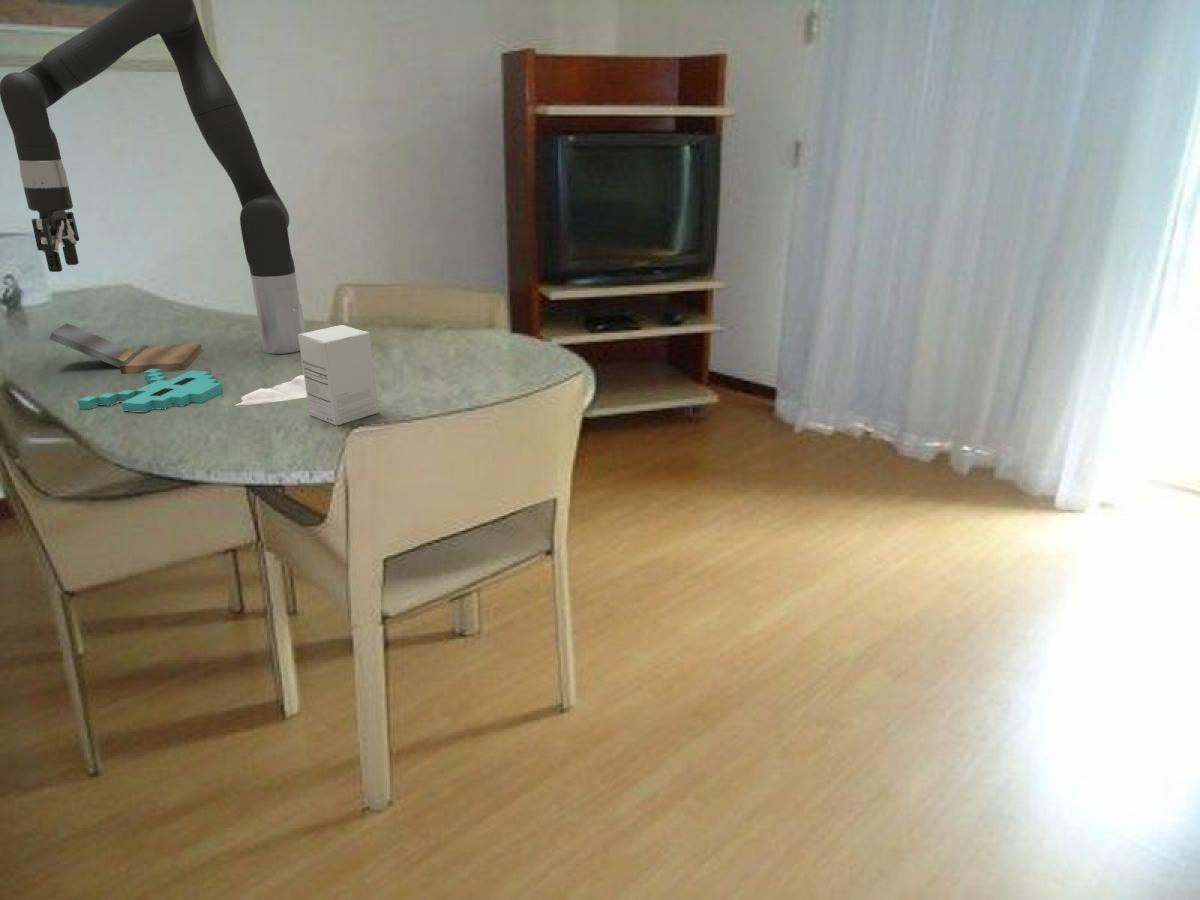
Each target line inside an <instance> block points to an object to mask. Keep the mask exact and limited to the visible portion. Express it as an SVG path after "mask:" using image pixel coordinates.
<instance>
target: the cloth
mask: <svg viewBox="0 0 1200 900" xmlns="http://www.w3.org/2000/svg"><path fill="white" fill-rule="evenodd" d="M305 398H307V392H306V386H305V379H304V374H300V375H296V377H294V378H293V379H292V380H291V381H287V382H282V383H280V384H278V385H273V387H269V388H261V387H260V388H258V389H256V390H253V391H252V392H249V393H247V394H245V395H243V396H241V398H240V399H241V400H242V401H241V402H239V403H236V404H234V405H233V407H240V406H250V405H251V406H252V405H259V404H260V405H261V404H267V403H268V404H269V403H275V402H284V401H285V402H287V401H291V400H297V399H305Z"/></svg>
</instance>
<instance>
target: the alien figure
mask: <svg viewBox="0 0 1200 900" xmlns="http://www.w3.org/2000/svg"><path fill="white" fill-rule="evenodd" d="M164 373H165V372H161V369H149V370H147V371H145V372H144V373H143V375H144V379H145V378H147V379H146V381H147V383H148V382H149V383H148V384H147V385H145V386H142V387H141V388H139V389H136V390H130V389H124V390H121V391H119V392H117V393H110V392H106V393H103V394H101V395H98V396H91V395H90V396H87V395H86V396H85V397H82V398H80V399H78V400H77V403H78V407H79V410H86V409H91V408H93V407H95V406H97V405H100V404H102V405H111V404H113V403H115V402H117V401H124V402H122V403H121V407H122V411H123V410H128V411H143V412H146V411H148V410H150V409H152V408H161V409H162V408H163V409H165V408H167V407H169V406H170V405H182V406H181V407H185V406H184V405H186V404H187V403H189V402H199V403H198V404H203V403H205V402H207V401H209V400H211V399H213V398H215V397H216V395H217V396H219V395H221V394H222V393H224V391H223V385H222V383H221V382H219V379H216V378H215V375H214V374H213V375H212V372H211V371H206V370H205V371H202V370H201V371H200V370H189V371H187V372H184V373H182V374H180V375H178V376H176V377H174V378H171V379H170V380H168V378H167V376H165V374H164ZM218 394H219V395H218ZM214 396H215V397H214ZM212 397H213V398H212ZM210 398H211V399H210ZM208 399H209V400H208ZM206 400H207V401H206ZM204 401H205V402H204ZM202 402H203V403H202ZM189 404H190V403H189ZM187 405H188V404H187ZM187 405H186V406H187ZM83 408H84V409H83ZM169 408H170V407H169ZM93 409H94V408H93ZM167 409H168V408H167ZM91 410H92V409H91ZM165 410H166V409H165Z"/></svg>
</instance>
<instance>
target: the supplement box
mask: <svg viewBox="0 0 1200 900" xmlns="http://www.w3.org/2000/svg"><path fill="white" fill-rule="evenodd" d="M305 332H306V333H301V334H298V339H299V346H300V351H299V352H300V359H301V366H302V371H303V373H302V374H303V375H304V379H305V386H306V392H307V397H306V398H307V406H308V411H309V412H308V413H309V415H310V416H311V417H315V418H317V419H319V420H321V421H325V422H327V423H329V424H331V425H334V426H335V427H336V426H341V425H345V424H346V423H350V422H353V421H356V420H360V419H363V418H365V417H366V418H367V417H369V416H372V415H375V414H379V413H380V410H379V401H378V400H379V399H378V393H377V384H376V383H377V382H376V376H375V370H374V369H375V368H374V362H373V354H372V343H371V335H370V332H369V331H365V330H361V329H357V328H354V327H350V326H348V325H346V324H345V325H344V324H340V325H335V326H331V327H326V328H321V329H316V330H311V331H305Z"/></svg>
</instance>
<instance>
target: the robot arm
mask: <svg viewBox="0 0 1200 900" xmlns="http://www.w3.org/2000/svg"><path fill="white" fill-rule="evenodd" d="M158 35H159V36H160V38H161V39H162V43H164V45H165V46H166V49H167V50H168V52H169V54H170V56H171V58H172V60H173V62H174V64H175V66H176V69H177V72H178V76H179V78H180V79H179V80H180V82H181V85H182V89H183V92H184V95H185V97H186V100H187V103H188V106H189V109H190V111H191V113H192V116H193V118H194V121H195V123H196V125H197V127H198V129H199V131H200V133H201V135H202V137H203V139H204V141H205V142H206V145H207V146H208V148H209V149H210V151H211V152H212V153H213V155H214V157H215V158H216V160H217V161H218V163H219V164H220V166H222V168H223V169H224V171H225V172H226V173H227V175H228V177H229V179H230V180H231V183H232V184H233V187H234V190H235V191H236V193H237V197H238V199H239V202H240V206H241V211H240V214H239V215H240V216H239V224H240V225H239V226H240V231H241V238H242V243H243V247H244V253H245V259H246V261H247V264H248V266H249V268H248V269H249V272H250V277H251V283H252V291H253V296H254V301H255V310H256V316H257V322H258V328H259V334H260V341H261V346H262V351H263V352H264V353H266V354H272V355H273V354H274V355H278V354H279V355H280V354H281V355H282V354H292V353H296V352H300V346H299V339H298V334H301V333H306V332H307V331H306V326H305V319H304V311H303V305H302V304H301V303H300V298H299V289H298V282H297V277H296V276H297V275H296V266H295V261H294V258H293V256H292V250H291V244H290V238H289V236H290V235H289V231H288V230H289V229H288V227H289V224H290V216H289V212H288V209H287V208H286V206H285V204H284V202H283V201H282V199H281V197H280V195H279V194H278V192H277V190H276V188H275V187H274V185H273V183H272V182H271V180H270V179H271V178H269V176H268V174H267V171H266V169H265V167H264V165H263V162H262V159H261V156H260V153H259V150H258V147H257V144H256V143H255V140H254V137H253V135H252V133H251V130H250V127H249V124H248V121H247V119H246V117H245V115H244V112H243V109H242V108H241V106H240V103H239V101H238V99H237V97H236V95H235V93H234V91H233V89H232V87H231V86H230V83H229V82H228V80H227V78H226V77H225V75H224V73H223V71H222V70H221V69H220V67H219V65H218V63H217V62H216V60H215V58H214V57H213V54H212V52H211V50H210V48H209V45H208V43H207V39H206V37H205V34H204V32H203V28H202V25H201V22H200V19H199V16H198V13H197V9H196V5H195V2H194V0H126V1H125V2H124V3H123V4H121V5H120V6H119V7H118V8H116V9H115V10H114V11H113V12H111V13H110V14H108V15H107V16H105V17H104V18H102V19H101V20H100V21H98V22H96V23H94V24H93V25H91V26H89V27H88V28H86V29H84V30H83V31H81V32H79V33H77V34H76V35H74V36H72V37H70V38H69V39H67V40H66V41H64V42H62V43H61V44H59V45H57V46H56V47H54V48H52V49H51V50H49V51H48V52H47V53H46V54H44V55H43V57H42V59H41V60H39V61H38V62H36V63H35V64H33V65H31V66H30V67H28V68H26V69H24V70H22V71H20V72H16V71H15V72H10V73H7V74H6V75H5V76H3V77H2V79H1V80H0V101H1V105H2V107H3V108H2V109H3V111H4V114H5V116H6V119H7V122H8V125H9V126H10V128H11V132H12V135H13V141H14V145H15V150H16V154H17V159H18V163H19V174H20V179H21V181H22V186H23V187H22V188H23V191H24V195H25V199H26V203H27V208H28V209H29V210H30V211H33V212H38V216H39V218H31V224H32V228H33V229H32V230H33V234H34V238H35V244H36V249H37V250H38V252H41V251H42V253H43V254H44V255H45V260H46V263H47V268H48V271H49V272H51V273H59V272H62V271H63V266H62V261H61V257H60V252H59V244H61V245H62V251H63V256H64V260H65V264H66V265H67V266H76V265H79V263H80V261H79V256H78V252H77V248H76V246H77V243H78V242H79V241H80V236H79V232H78V229H77V224H76V219H75V216H74V215H75V214H74V212H72V211H69V210H71V209H73V207H74V205H73V200H72V195H71V190H70V186H69V181H68V176H67V173H66V172H67V171H66V170H65V169H66V168H65V167H64V164H63V161H62V160H63V159H62V156H61V152H60V147H59V143H58V138H57V135H56V133H55V132H54V130H53V129H52V127H51V124H50V119H49V115H48V111H47V109H48V108H50V107H51V106H53V105H55V103H57V102H58V101H60V100H61V99H62V98H63V97H65V96H66V95H67V94H68V93H69V92H71V91H73V90H75V89H78V88H79V87H81V86H82V85H84V84H86V83H88V82H89V81H91V80H92V79H94V78H95V77H97V76H99V75H100V74H102V73H103V72H104V71H106V70H107V69H108V68H110V67H111V66H113V64H115V63H116V62H117V61H119V59H121V58H122V57H123V56H124V55H125V54H126V53H128V52H129V51H130V50H132V49H133V48H134V47H136V46H138V45H139V44H141V43H142V42H145V41H146V40H148V39H151V38H153V37H154V36H158Z"/></svg>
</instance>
